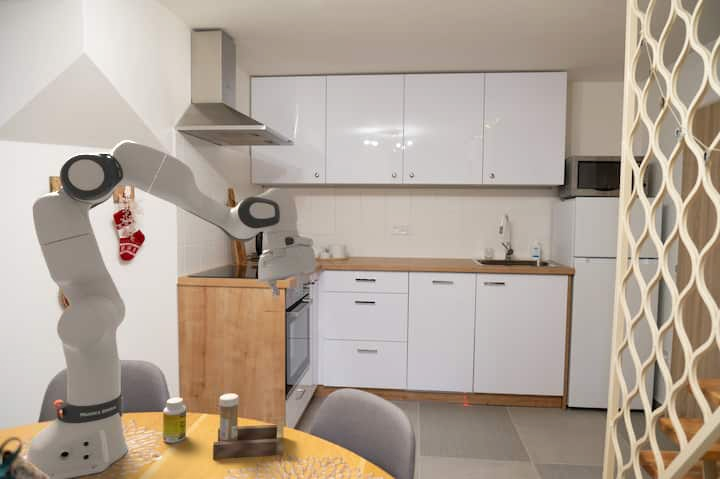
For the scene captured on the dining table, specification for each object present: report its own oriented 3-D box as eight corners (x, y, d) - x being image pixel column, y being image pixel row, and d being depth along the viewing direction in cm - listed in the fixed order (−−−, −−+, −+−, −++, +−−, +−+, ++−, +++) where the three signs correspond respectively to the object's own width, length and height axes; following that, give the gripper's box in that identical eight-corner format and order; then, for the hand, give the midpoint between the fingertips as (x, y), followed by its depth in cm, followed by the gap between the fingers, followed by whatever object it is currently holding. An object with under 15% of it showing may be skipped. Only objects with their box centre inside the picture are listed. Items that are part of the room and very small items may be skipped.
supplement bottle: (182, 443, 117) (182, 404, 117) (159, 444, 116) (160, 404, 116) (188, 433, 122) (188, 395, 122) (167, 434, 122) (167, 396, 122)
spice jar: (240, 450, 114) (241, 397, 114) (222, 455, 112) (222, 400, 111) (234, 442, 118) (235, 391, 117) (216, 447, 115) (217, 394, 115)
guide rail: (213, 459, 110) (213, 440, 109) (218, 440, 119) (219, 423, 119) (283, 455, 112) (283, 437, 112) (283, 437, 122) (283, 420, 121)
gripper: (251, 251, 133) (254, 298, 130) (300, 236, 121) (304, 288, 118) (268, 252, 138) (271, 298, 135) (317, 238, 126) (321, 288, 123)
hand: (287, 293), depth 126 cm, fingers open, 8 cm apart
